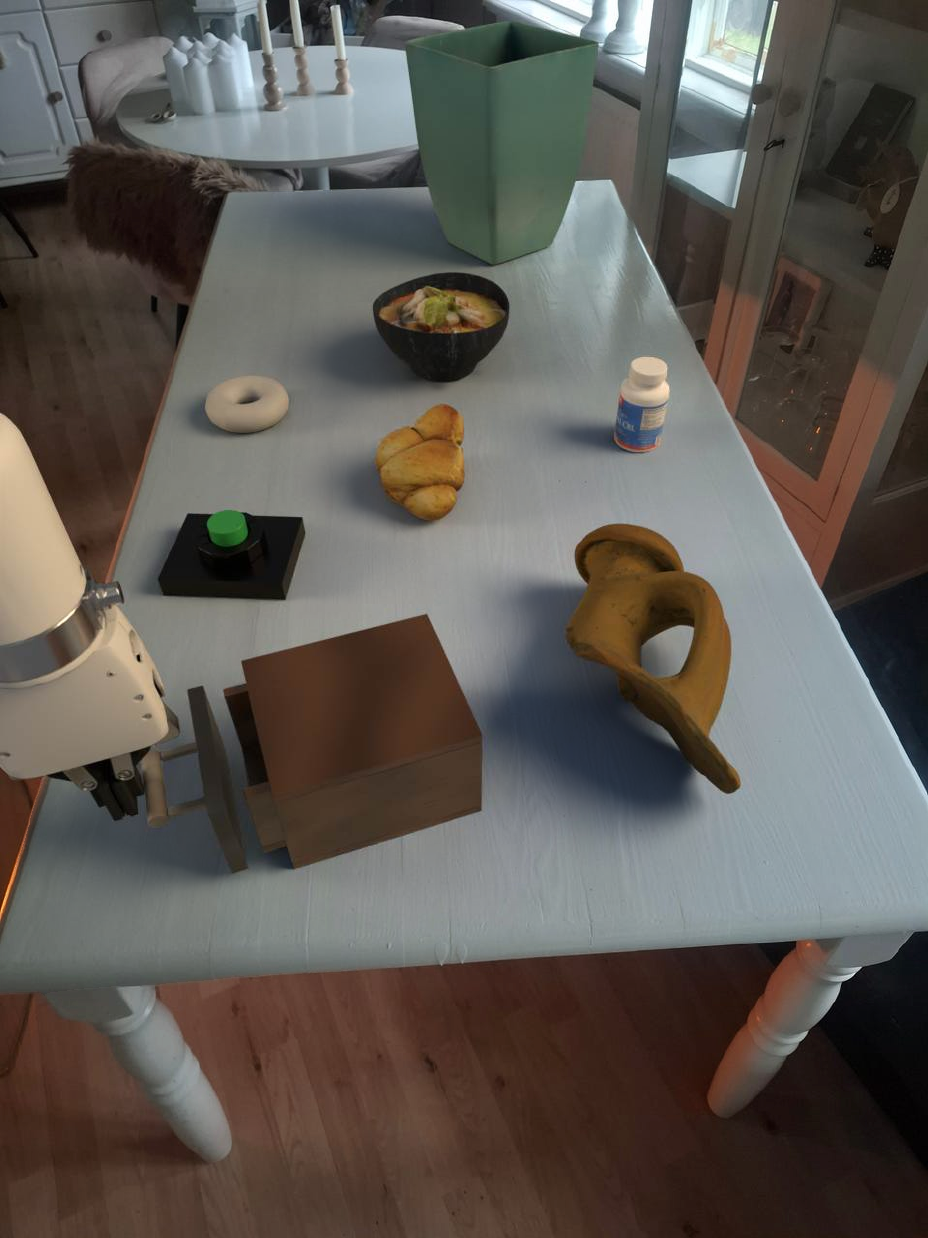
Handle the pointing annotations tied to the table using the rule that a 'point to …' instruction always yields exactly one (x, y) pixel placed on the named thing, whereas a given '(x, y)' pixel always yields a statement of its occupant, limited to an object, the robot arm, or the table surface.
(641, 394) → the pill bottle
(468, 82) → the flower pot
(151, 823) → the drawer
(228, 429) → the donut
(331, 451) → the table surface
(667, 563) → the brown looped sculpture
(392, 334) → the bowl
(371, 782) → the cabinet
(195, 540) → the block
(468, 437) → the table surface
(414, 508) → the bread roll
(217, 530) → the button
